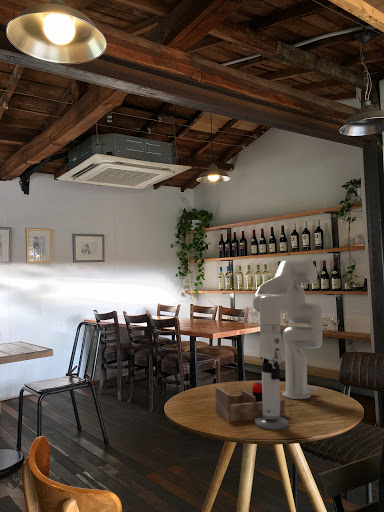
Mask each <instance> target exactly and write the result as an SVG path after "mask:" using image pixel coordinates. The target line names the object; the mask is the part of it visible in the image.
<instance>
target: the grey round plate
mask: <svg viewBox="0 0 384 512" xmlns="http://www.w3.org/2000/svg"><path fill="white" fill-rule="evenodd" d="M254 425H255V426H256V427H257V428H259V429H263V430H268V431H280V430H281V431H282V430H284V429H286V428H288V426H289V421H288V419H286V418H285V417H284V416H280V418H279V419H274V420H271V419H266V418H264V417H263V416H258V417H256V418H255V419H254Z"/></svg>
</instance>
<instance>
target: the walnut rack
mask: <svg viewBox="0 0 384 512" xmlns="http://www.w3.org/2000/svg"><path fill="white" fill-rule="evenodd" d="M285 407H286V406H285V399H283V398H281V397H280V417H284V416H285V415H286V414H285V413H286V412H285ZM215 413H217V415H219V416H220V417H221V418H223V419H224V420H225V421H227V423H232V422H241V421H248V420H249V421H250V420H255V418H256V417H258V416H263V402H256V397H255V396H253V395H252V393H250V392H247V391H246V390H245V389H242V390H241V393H240V394H232V395H231V394H230V393H229V392H227V391H225V390H224V389H222V388H220V387H219V386H215Z"/></svg>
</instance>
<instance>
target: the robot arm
mask: <svg viewBox="0 0 384 512" xmlns="http://www.w3.org/2000/svg"><path fill="white" fill-rule="evenodd" d="M317 279H318V270H317V266H315V264H313V262H311V261H310V260H309V259H304V258H302V259H299V258H298V259H285V260H282V261H281V262H280V263H279V264H278V266H277V269H276V272H275V274H274V277H273V278H271V279H269V280H267V281H266V282H264V283H262V284H261V285H260V286H258V288H257V290H256V292H255V295H254V297H253V301H252V305H253V309H254V311H255V312H257V313H259V333H260V335H259V337H260V339H259V352H258V353H259V356H260V360H261V362H260V364H261V365H262V364H268V363H271V364H272V368H271V379H272V380H275V379H279V380H280V379H281V374H280V373H281V372H280V369H281V366H282V363H283V360H284V358H285V390H283V391H282V396H283V397H284V398H287V399H292V400H306V399H309V398H311V395H312V394H311V393H310V392H311V391H312V392H313V391H314V392H315V391H317V387H316V386H311V385H308V373H307V372H308V369H307V368H308V367H307V366H308V365H307V363H308V362H307V361H308V360H307V355H306V354H305V352H304V351H303V348H304V349H320V348H321V347H322V345H323V311H322V308H321V306H320V304H318V303H314V302H306V292H305V289H304V288H303V287H302V286H301V284H302V285H305V284H309V285H312V284H315V283H316V282H317ZM282 314H286V319H287V321H288V322H289V323H291V324H299V325H300V324H301V325H302V324H305V325H306V324H307V325H310V326H298V325H296V326H295V325H292V326H287V327H285V329H284V330H283V332H282V333H281V315H282ZM282 339H283V340H282ZM283 344H284V345H283ZM283 346H284V347H283ZM283 349H284V350H283ZM284 353H285V355H284ZM284 356H285V357H284ZM274 363H275V364H274Z"/></svg>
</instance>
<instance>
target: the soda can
mask: <svg viewBox="0 0 384 512" xmlns="http://www.w3.org/2000/svg"><path fill="white" fill-rule="evenodd" d="M251 390H252V391H251V392H252V393H251V394H252V395H253V396H255V397H256V402H263V397H262V380H255V381H254V382H253V383H252V387H251Z"/></svg>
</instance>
